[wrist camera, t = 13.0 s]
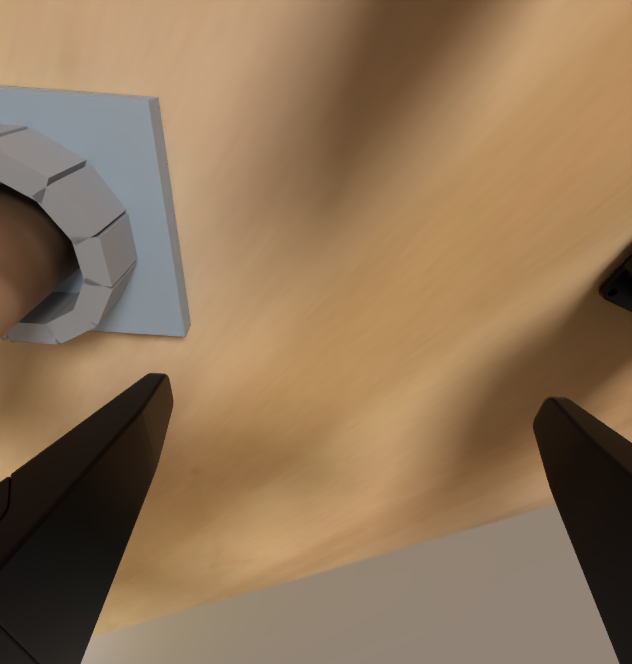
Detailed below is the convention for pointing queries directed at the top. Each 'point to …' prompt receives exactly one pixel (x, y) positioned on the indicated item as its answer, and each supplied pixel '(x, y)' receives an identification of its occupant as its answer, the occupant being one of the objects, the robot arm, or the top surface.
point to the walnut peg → (29, 256)
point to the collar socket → (98, 210)
